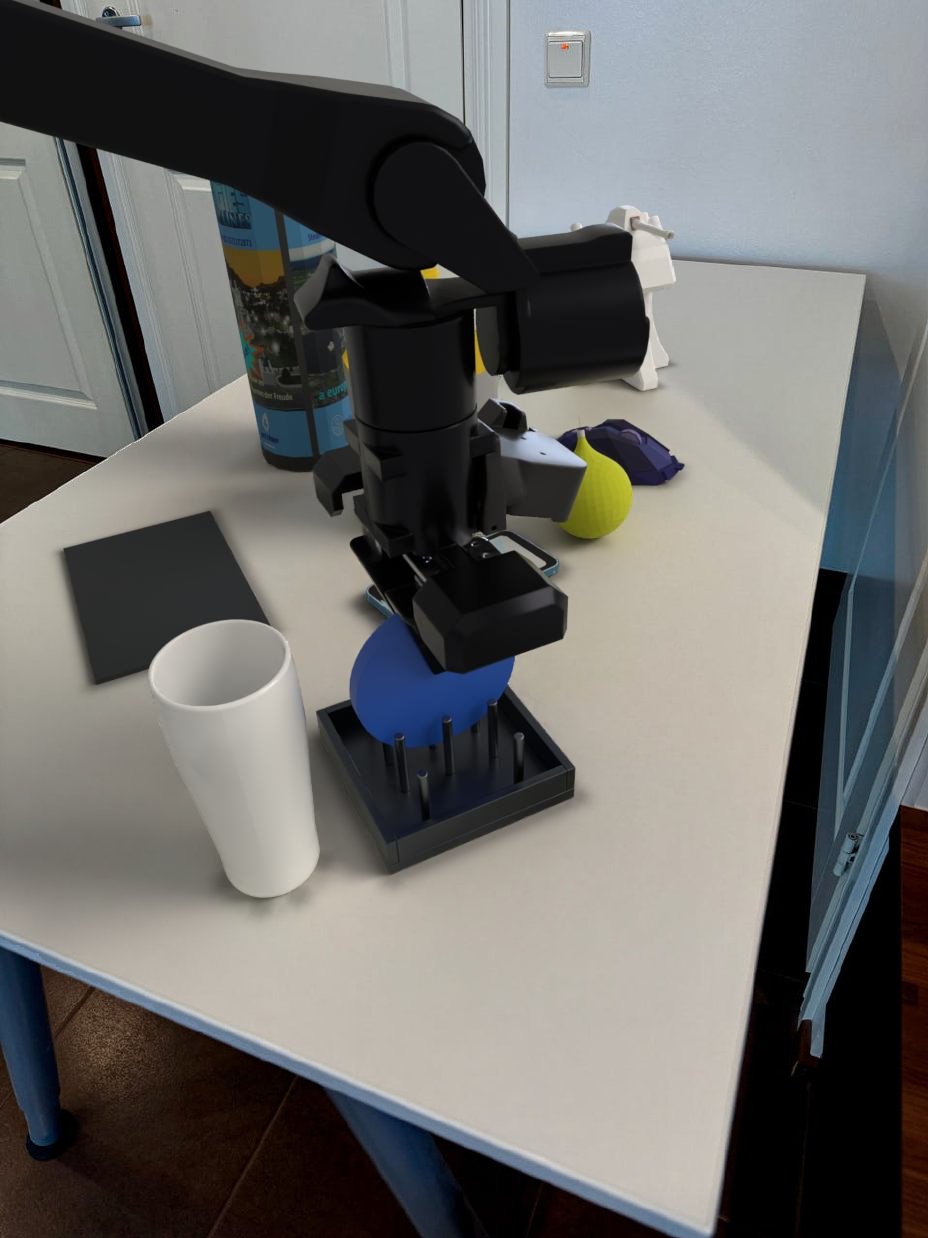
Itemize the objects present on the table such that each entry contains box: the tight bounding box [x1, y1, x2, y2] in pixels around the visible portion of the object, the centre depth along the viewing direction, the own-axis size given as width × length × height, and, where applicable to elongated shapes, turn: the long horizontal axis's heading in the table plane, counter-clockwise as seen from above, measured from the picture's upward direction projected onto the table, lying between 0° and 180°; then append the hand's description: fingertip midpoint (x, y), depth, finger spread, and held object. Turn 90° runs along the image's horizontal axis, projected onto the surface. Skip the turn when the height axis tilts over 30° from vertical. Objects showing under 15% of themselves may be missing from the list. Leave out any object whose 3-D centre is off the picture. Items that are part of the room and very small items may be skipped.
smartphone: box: [365, 529, 560, 619], centre depth 70 cm, size 7×1×15 cm
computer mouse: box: [555, 418, 686, 486], centre depth 86 cm, size 9×15×4 cm, turn 64°
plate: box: [348, 613, 516, 748], centre depth 50 cm, size 1×10×10 cm, turn 116°
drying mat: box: [63, 510, 272, 685], centre depth 72 cm, size 13×20×1 cm, turn 26°
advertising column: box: [208, 180, 353, 473], centre depth 82 cm, size 11×11×30 cm
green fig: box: [556, 416, 634, 539], centre depth 74 cm, size 7×7×10 cm
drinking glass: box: [146, 620, 321, 899], centre depth 45 cm, size 7×7×15 cm
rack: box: [315, 683, 576, 875], centre depth 54 cm, size 12×12×5 cm
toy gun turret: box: [570, 204, 677, 392], centre depth 99 cm, size 12×13×18 cm
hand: (435, 663), depth 50 cm, fingers closed on plate, 1 cm apart
